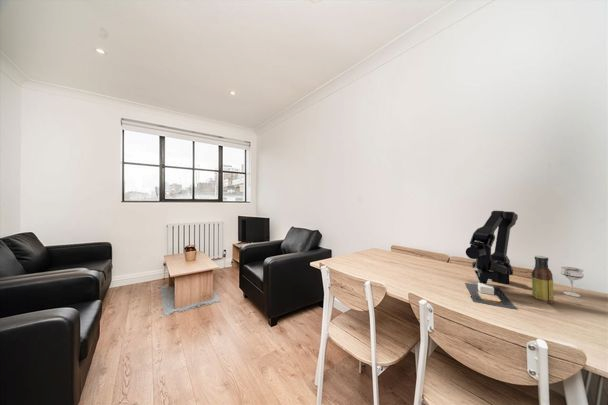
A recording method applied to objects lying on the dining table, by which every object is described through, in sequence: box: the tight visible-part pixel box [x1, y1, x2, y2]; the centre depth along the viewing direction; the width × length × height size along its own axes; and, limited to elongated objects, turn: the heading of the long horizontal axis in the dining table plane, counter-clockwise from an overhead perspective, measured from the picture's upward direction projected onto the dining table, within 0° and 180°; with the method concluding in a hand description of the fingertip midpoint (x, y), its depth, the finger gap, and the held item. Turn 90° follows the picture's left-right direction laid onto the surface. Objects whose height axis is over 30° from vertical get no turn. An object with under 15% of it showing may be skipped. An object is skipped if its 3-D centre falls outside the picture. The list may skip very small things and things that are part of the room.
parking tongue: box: [469, 279, 490, 285], centre depth 110 cm, size 8×5×1 cm, turn 61°
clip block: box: [477, 283, 495, 295], centre depth 100 cm, size 5×5×3 cm
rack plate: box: [464, 282, 517, 310], centre depth 99 cm, size 14×20×1 cm
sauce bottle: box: [531, 255, 555, 305], centre depth 93 cm, size 6×6×20 cm
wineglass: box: [559, 266, 584, 297], centre depth 98 cm, size 7×7×12 cm
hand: (483, 287), depth 104 cm, fingers closed
